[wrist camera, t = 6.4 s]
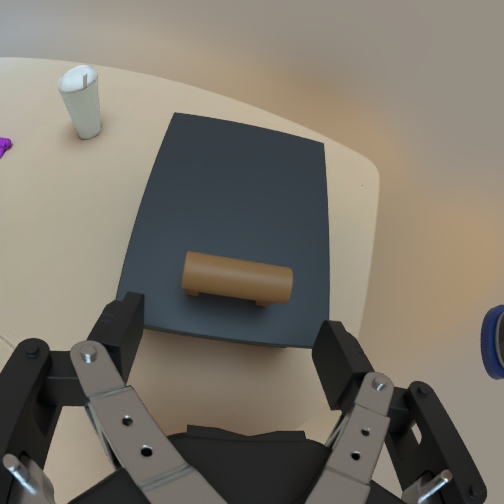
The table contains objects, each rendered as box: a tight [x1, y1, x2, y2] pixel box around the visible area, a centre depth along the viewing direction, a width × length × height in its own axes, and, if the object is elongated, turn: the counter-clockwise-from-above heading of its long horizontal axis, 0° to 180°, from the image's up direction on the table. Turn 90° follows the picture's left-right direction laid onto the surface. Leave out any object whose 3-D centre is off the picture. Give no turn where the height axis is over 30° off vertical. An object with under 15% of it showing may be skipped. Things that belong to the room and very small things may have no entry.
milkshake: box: [57, 65, 102, 139], centre depth 25 cm, size 4×5×10 cm
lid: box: [115, 112, 330, 349], centre depth 18 cm, size 17×13×5 cm
